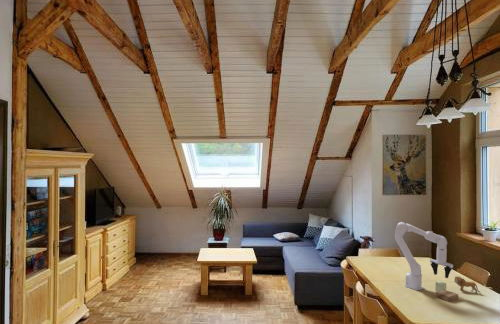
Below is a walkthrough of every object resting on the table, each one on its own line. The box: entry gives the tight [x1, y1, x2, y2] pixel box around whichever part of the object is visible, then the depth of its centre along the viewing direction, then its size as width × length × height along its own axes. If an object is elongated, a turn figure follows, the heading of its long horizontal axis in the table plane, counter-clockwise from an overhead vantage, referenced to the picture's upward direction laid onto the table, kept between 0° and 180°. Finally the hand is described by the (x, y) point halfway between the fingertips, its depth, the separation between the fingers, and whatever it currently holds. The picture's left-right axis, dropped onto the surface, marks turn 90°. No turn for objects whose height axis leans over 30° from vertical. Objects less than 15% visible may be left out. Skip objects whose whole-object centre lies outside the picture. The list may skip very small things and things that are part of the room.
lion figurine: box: [453, 275, 481, 294], centre depth 242 cm, size 15×5×9 cm, turn 66°
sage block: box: [434, 280, 447, 292], centre depth 241 cm, size 4×4×6 cm
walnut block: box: [434, 289, 459, 303], centre depth 229 cm, size 9×9×4 cm
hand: (441, 276), depth 241 cm, fingers open, 7 cm apart
